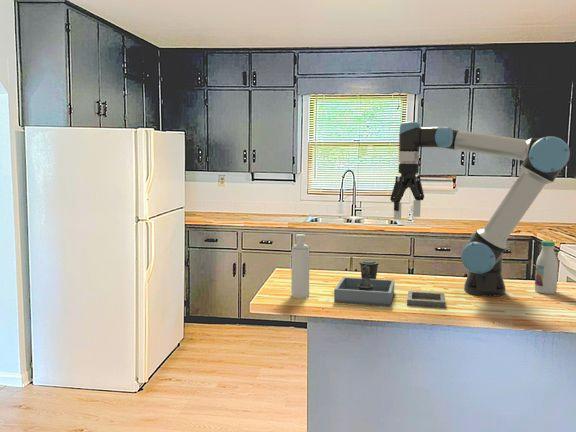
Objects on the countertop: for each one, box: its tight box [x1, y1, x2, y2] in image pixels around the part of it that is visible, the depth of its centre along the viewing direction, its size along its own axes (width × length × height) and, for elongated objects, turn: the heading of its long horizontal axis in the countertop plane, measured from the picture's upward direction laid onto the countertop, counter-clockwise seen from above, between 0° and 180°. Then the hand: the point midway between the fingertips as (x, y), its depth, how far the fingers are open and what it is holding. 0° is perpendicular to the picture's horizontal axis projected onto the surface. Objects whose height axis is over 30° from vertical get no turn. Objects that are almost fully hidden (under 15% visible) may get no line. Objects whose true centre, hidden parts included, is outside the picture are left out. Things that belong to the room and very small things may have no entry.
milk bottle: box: [534, 240, 559, 295], centre depth 207 cm, size 8×8×20 cm
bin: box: [333, 276, 395, 308], centre depth 199 cm, size 20×20×5 cm
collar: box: [406, 290, 446, 309], centre depth 194 cm, size 13×13×2 cm
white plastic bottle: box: [291, 233, 310, 299], centre depth 200 cm, size 7×7×25 cm
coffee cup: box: [358, 259, 380, 279], centre depth 219 cm, size 8×8×10 cm
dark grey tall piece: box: [358, 264, 374, 291], centre depth 199 cm, size 6×6×12 cm
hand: (407, 218), depth 207 cm, fingers open, 13 cm apart
